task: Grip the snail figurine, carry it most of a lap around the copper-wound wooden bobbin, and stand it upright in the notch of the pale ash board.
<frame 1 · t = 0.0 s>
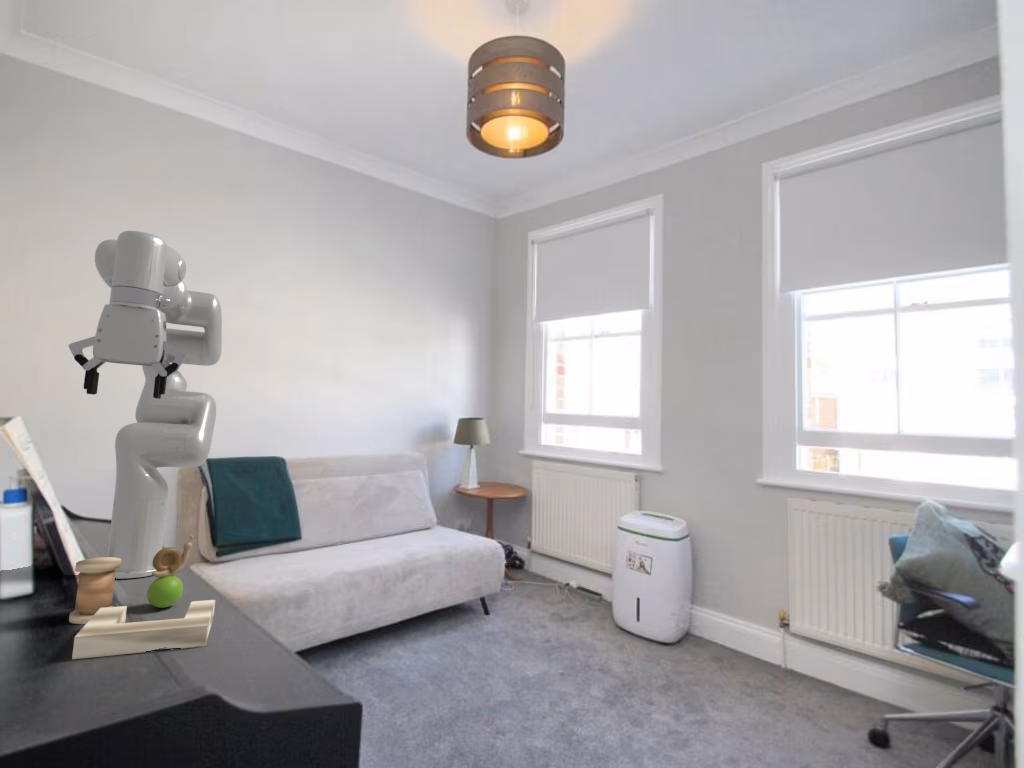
hand: (124, 396, 94), 37 cm above the table, tool pointing down, fingers open, 9 cm apart
bobbin: (92, 617, 87), on the table
snail figurine: (166, 607, 94), on the table
notched board: (150, 636, 81), on the table
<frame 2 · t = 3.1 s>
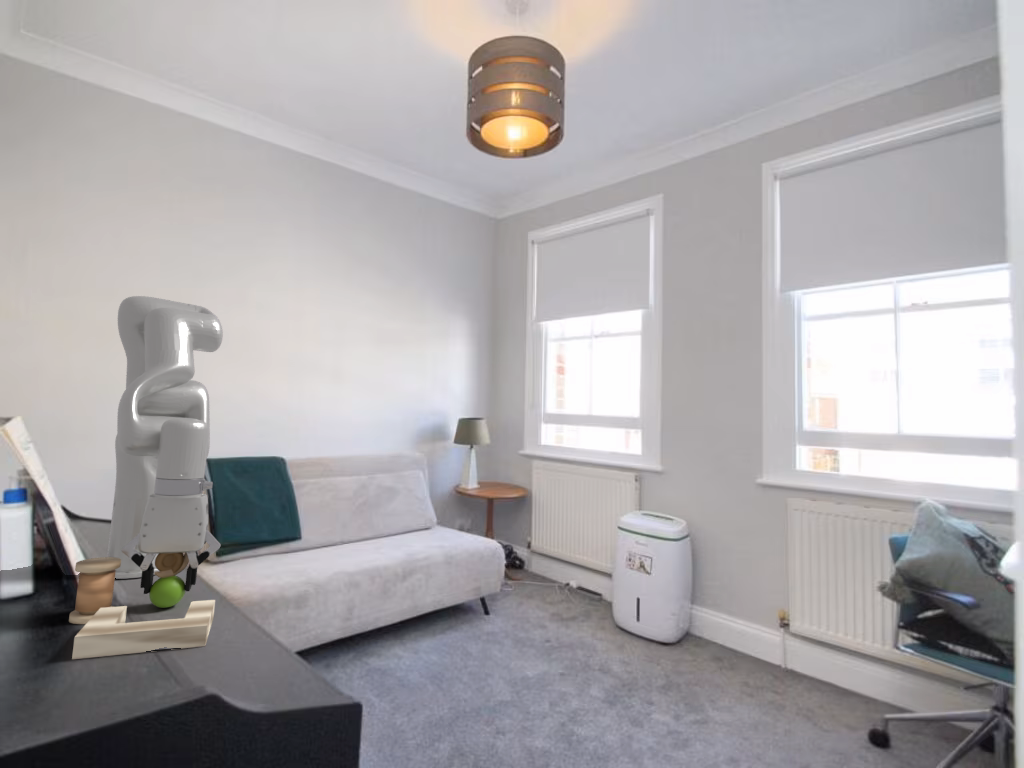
hand: (168, 589, 94), 3 cm above the table, tool pointing down, fingers closed on snail figurine, 5 cm apart
snail figurine: (168, 607, 94), on the table, touching gripper
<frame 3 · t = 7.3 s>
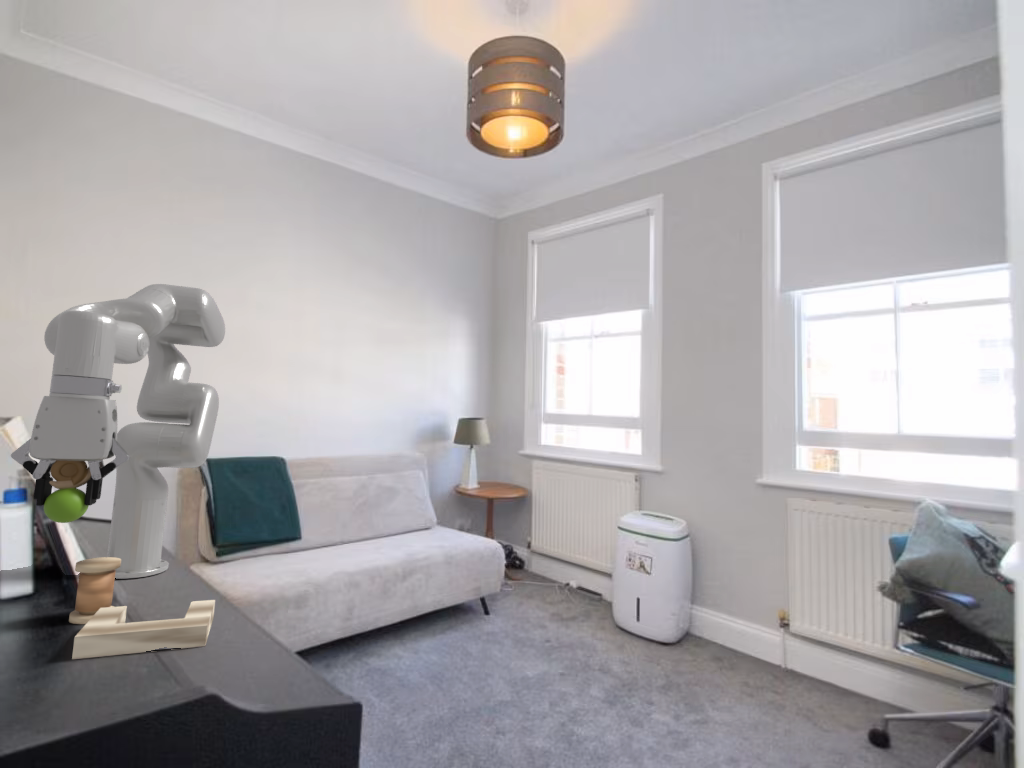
hand: (67, 503, 83), 19 cm above the table, tool pointing down, fingers closed on snail figurine, 5 cm apart
snail figurine: (68, 523, 83), point 16 cm above the table, touching gripper
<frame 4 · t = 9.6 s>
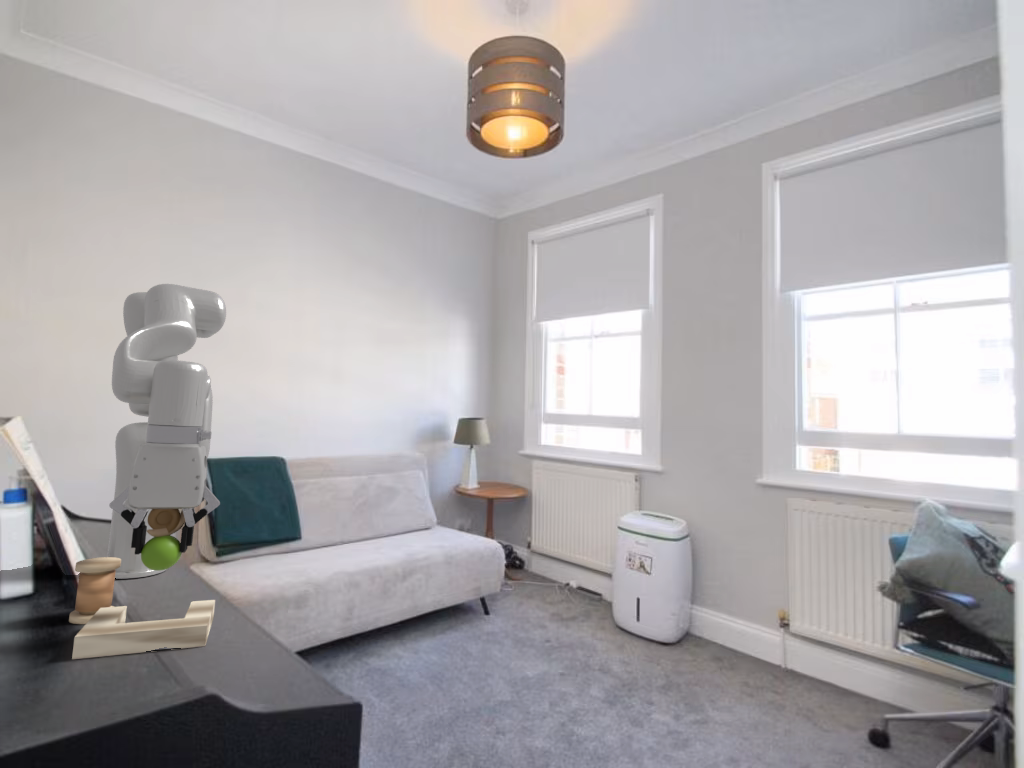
hand: (161, 550, 84), 13 cm above the table, tool pointing down, fingers closed on snail figurine, 5 cm apart
snail figurine: (163, 570, 84), point 9 cm above the table, touching gripper
when the fingers open (4 cm above the table, at t = 11.5 s): snail figurine drops 1 cm, on the table.
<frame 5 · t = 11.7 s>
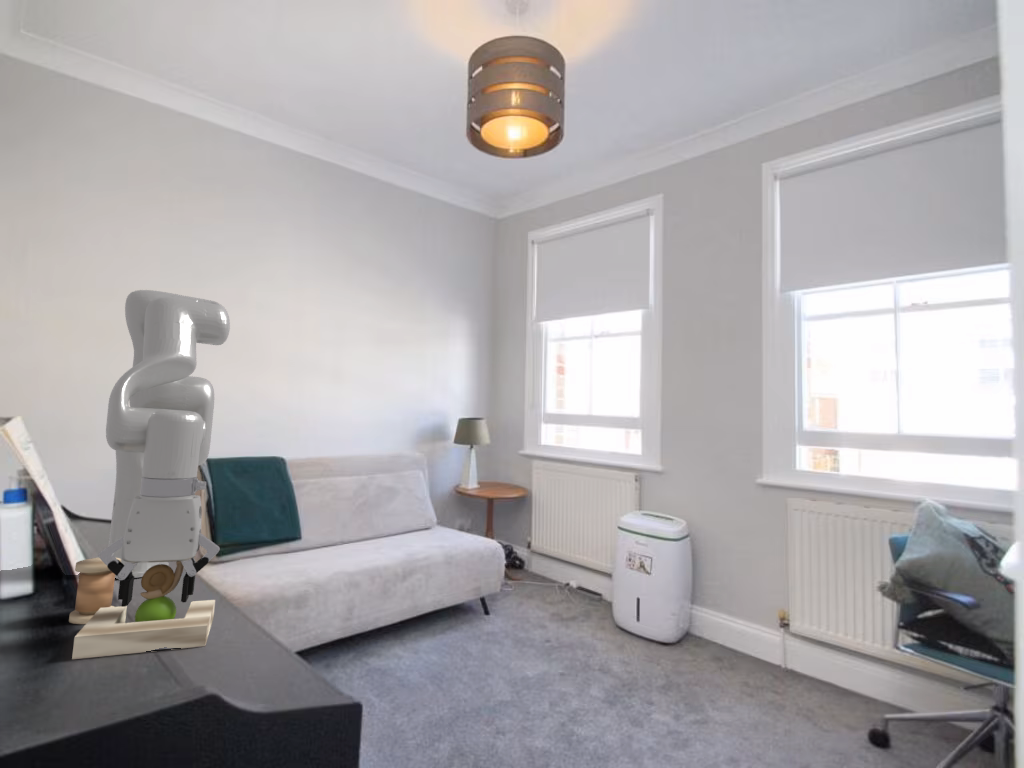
hand: (156, 600, 84), 5 cm above the table, tool pointing down, fingers open, 7 cm apart
snail figurine: (157, 632, 84), on the table
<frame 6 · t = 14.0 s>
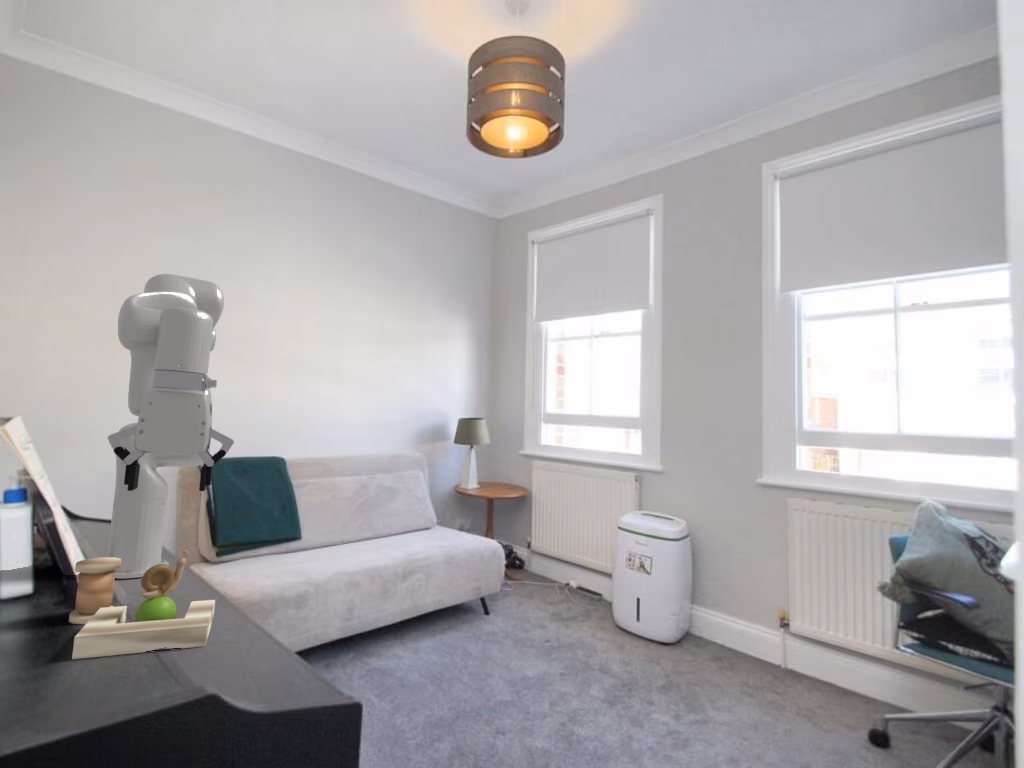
hand: (168, 489, 85), 22 cm above the table, tool pointing down, fingers open, 9 cm apart
nothing on the table moved.
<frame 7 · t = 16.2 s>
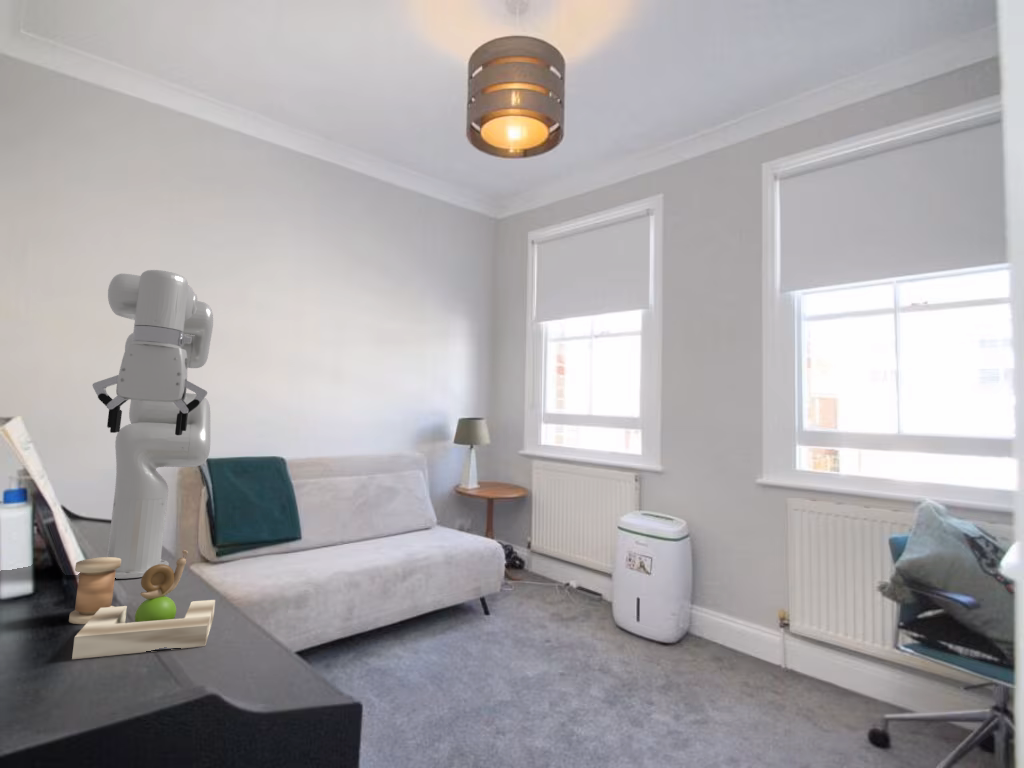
hand: (147, 433, 95), 30 cm above the table, tool pointing down, fingers open, 9 cm apart
nothing on the table moved.
at the end: snail figurine 0.6 cm from the target spot on the notched board, point 0.0 cm above the notched board's base; snail figurine tilted 0°; the gripper is holding nothing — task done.
